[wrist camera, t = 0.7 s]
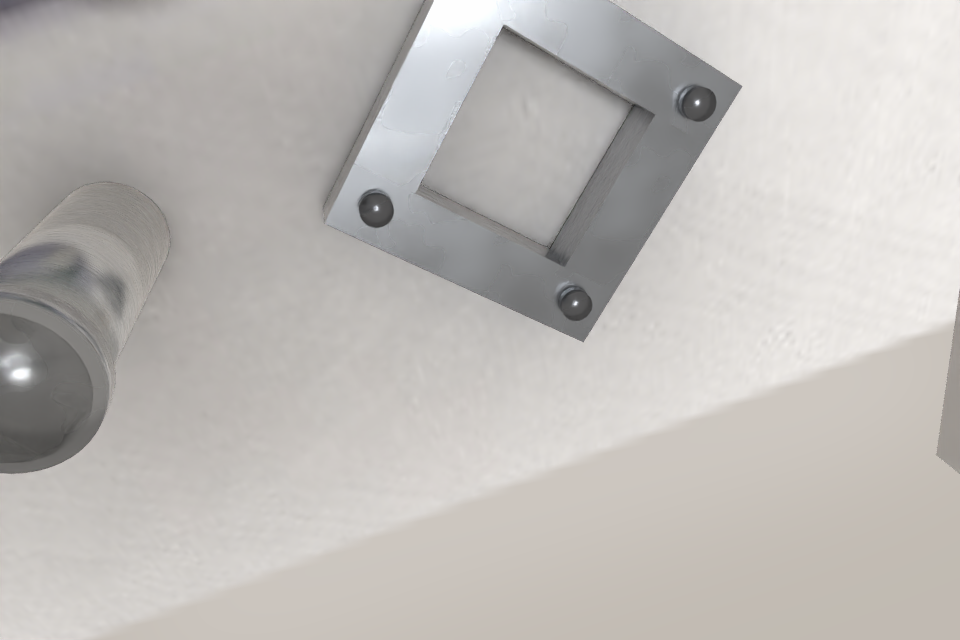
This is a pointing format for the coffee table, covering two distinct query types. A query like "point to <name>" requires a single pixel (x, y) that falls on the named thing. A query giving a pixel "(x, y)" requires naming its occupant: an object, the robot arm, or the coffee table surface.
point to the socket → (606, 199)
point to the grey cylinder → (72, 319)
